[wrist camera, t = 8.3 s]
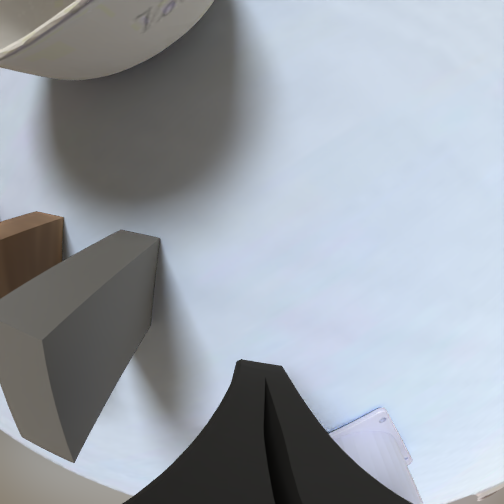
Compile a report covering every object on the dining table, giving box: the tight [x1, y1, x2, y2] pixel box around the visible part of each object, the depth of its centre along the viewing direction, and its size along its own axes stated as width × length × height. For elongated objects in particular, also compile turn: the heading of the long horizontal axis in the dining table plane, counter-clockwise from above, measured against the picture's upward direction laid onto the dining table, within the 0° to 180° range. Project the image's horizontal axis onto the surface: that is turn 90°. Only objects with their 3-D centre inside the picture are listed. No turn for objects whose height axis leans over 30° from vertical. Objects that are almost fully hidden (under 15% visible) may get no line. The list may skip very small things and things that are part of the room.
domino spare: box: [0, 230, 160, 463], centre depth 10 cm, size 2×5×9 cm, turn 168°
